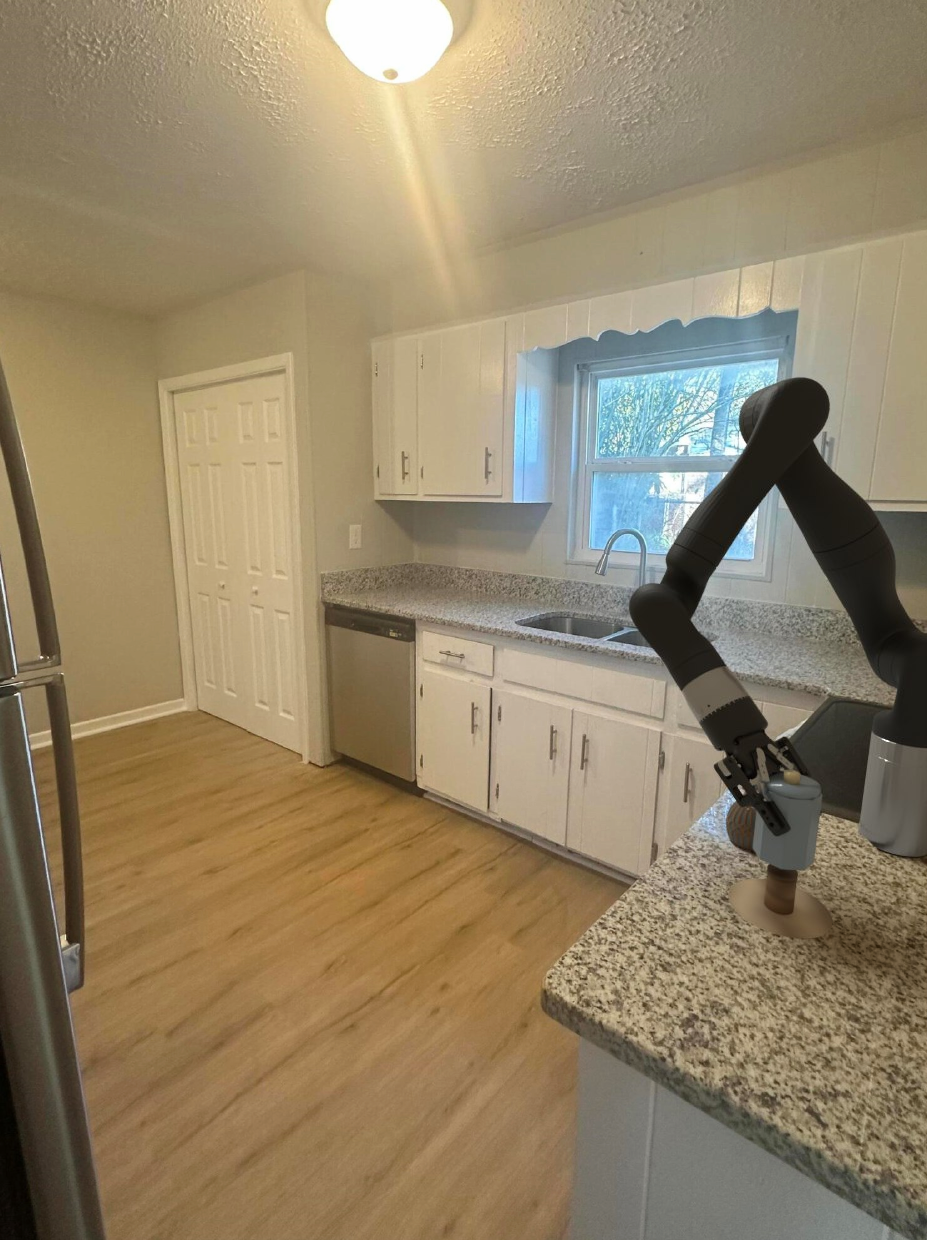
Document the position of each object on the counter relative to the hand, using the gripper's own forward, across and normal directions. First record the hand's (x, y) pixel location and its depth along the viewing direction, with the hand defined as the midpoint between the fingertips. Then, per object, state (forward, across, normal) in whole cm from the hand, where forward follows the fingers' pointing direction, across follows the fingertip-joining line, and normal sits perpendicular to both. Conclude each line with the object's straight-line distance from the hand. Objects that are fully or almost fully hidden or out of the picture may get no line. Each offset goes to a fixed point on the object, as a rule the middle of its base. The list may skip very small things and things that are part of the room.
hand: (799, 825), depth 76 cm
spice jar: (+8, 0, +10) cm, 12 cm away
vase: (0, +12, +18) cm, 22 cm away
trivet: (+8, 0, +10) cm, 13 cm away
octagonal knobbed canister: (+2, 0, +5) cm, 5 cm away
